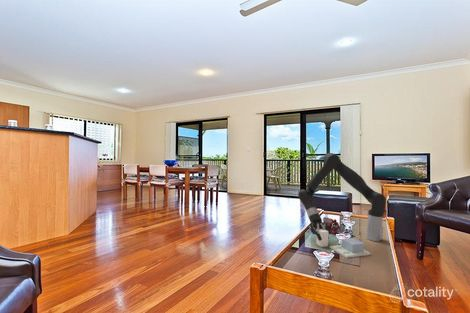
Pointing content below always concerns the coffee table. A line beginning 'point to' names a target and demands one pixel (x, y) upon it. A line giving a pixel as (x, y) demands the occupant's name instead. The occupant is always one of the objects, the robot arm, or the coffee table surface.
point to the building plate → (346, 253)
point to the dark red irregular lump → (330, 221)
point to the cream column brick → (323, 238)
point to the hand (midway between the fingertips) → (324, 239)
